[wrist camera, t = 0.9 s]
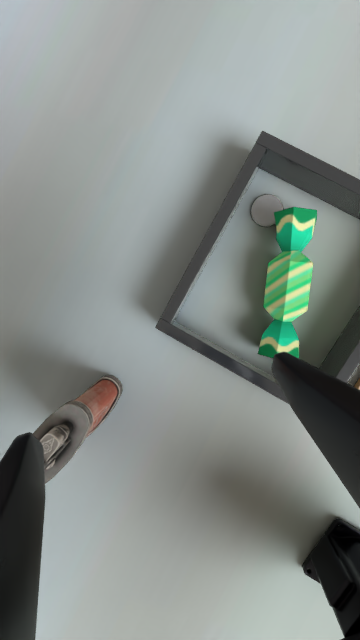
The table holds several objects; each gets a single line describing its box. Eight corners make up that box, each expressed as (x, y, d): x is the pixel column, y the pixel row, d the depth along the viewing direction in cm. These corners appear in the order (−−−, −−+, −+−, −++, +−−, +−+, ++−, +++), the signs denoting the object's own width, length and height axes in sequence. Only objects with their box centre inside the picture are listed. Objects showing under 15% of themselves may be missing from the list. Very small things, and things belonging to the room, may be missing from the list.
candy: (262, 215, 22) (308, 202, 19) (285, 224, 24) (331, 215, 21) (247, 350, 23) (288, 362, 20) (270, 349, 25) (311, 359, 22)
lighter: (105, 367, 26) (41, 408, 16) (130, 389, 26) (82, 444, 16) (59, 424, 27) (-27, 495, 17) (83, 445, 27) (11, 529, 17)
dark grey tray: (418, 235, 22) (451, 225, 19) (306, 407, 24) (321, 422, 21) (255, 152, 23) (262, 130, 20) (161, 324, 25) (154, 327, 22)
